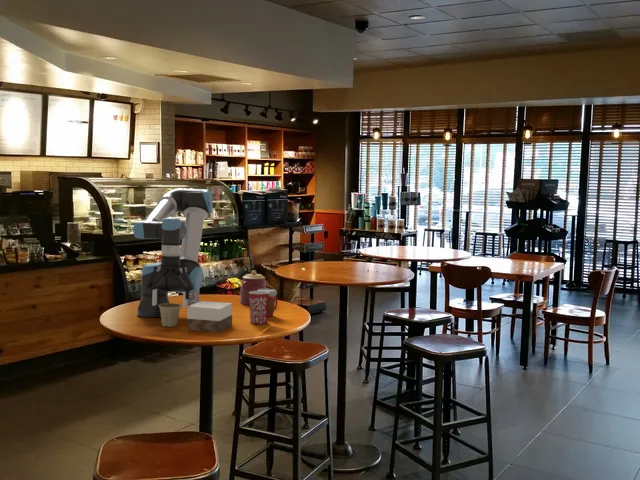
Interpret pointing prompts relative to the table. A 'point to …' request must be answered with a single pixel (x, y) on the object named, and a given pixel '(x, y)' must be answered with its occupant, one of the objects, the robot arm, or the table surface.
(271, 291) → the disposable coffee cup
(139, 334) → the table surface
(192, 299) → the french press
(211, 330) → the tower base
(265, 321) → the mug
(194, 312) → the tower top
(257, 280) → the canister
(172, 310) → the flower pot
